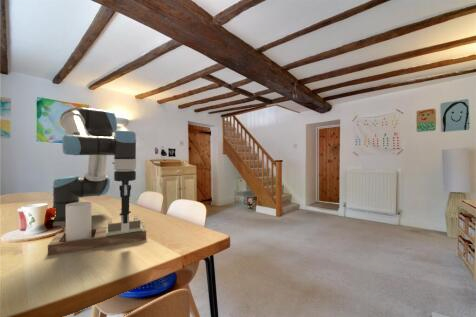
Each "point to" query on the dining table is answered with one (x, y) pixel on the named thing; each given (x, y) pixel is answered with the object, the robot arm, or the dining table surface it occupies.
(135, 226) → the lid
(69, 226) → the cup
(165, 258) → the dining table surface
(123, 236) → the board
